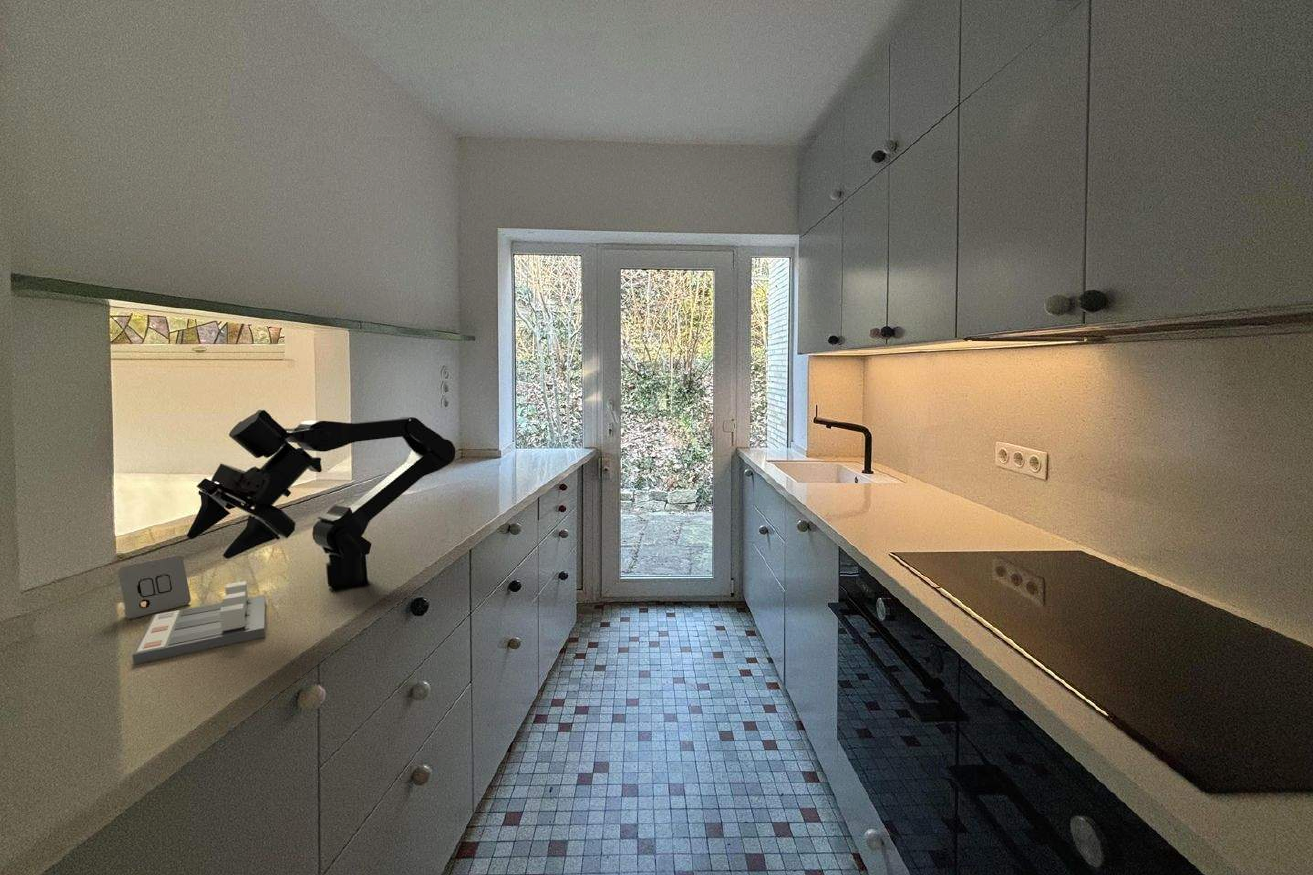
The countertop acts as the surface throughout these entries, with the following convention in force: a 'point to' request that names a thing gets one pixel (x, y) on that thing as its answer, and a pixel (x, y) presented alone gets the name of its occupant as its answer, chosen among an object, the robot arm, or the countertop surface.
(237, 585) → the switch tab
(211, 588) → the countertop surface
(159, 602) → the electrical switch
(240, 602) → the switch tab
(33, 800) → the countertop surface
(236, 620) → the switch tab
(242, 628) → the switch housing
